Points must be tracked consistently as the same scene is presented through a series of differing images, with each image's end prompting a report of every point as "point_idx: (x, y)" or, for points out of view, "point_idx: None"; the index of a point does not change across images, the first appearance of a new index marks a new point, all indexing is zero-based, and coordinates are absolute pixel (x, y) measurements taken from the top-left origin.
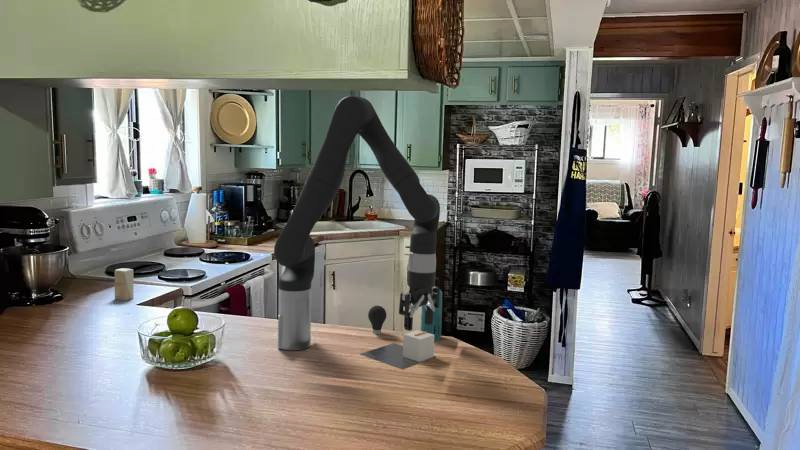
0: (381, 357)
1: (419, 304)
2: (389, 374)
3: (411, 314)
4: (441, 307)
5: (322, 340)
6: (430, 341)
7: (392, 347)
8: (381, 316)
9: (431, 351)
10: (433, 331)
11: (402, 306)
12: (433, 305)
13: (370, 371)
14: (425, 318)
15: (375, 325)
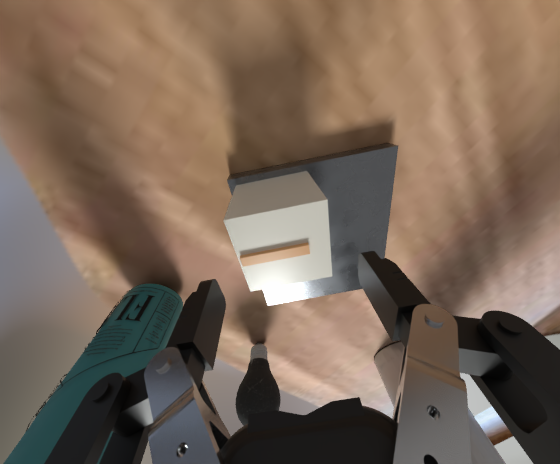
0: (362, 249)
1: (407, 431)
2: (406, 168)
3: (440, 324)
4: (54, 395)
5: (348, 357)
6: (253, 203)
7: (290, 287)
8: (260, 392)
9: (246, 189)
10: (149, 306)
11: (532, 421)
12: (153, 402)
13: (419, 210)
14: (221, 322)
15: (268, 369)
